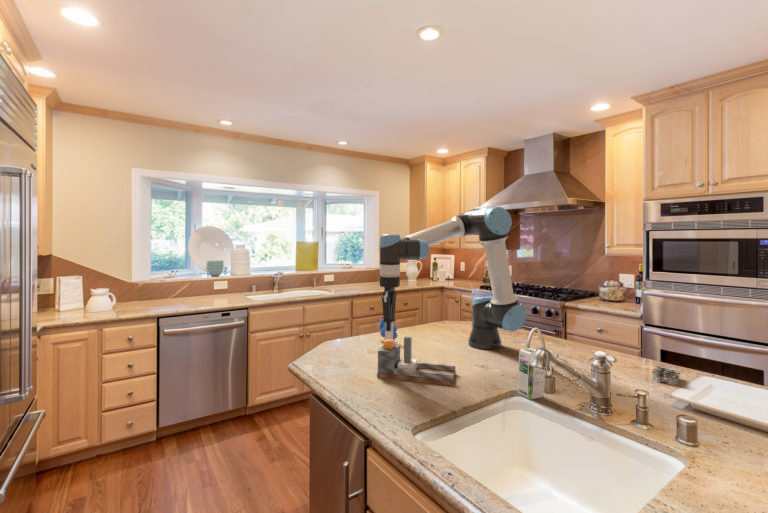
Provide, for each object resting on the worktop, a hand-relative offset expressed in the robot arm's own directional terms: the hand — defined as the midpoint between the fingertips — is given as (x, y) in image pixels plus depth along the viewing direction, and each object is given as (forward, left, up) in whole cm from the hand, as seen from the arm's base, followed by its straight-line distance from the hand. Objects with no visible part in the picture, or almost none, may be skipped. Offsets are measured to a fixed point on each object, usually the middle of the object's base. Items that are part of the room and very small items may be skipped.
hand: (389, 338), depth 141 cm
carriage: (-7, 0, -11) cm, 13 cm away
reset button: (0, 0, -4) cm, 4 cm away
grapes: (+12, -40, -13) cm, 44 cm away
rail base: (-11, 0, -13) cm, 17 cm away
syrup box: (-49, +7, -13) cm, 51 cm away
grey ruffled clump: (-97, -21, -13) cm, 100 cm away
